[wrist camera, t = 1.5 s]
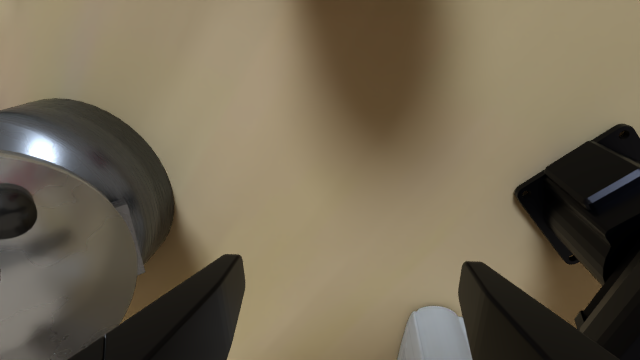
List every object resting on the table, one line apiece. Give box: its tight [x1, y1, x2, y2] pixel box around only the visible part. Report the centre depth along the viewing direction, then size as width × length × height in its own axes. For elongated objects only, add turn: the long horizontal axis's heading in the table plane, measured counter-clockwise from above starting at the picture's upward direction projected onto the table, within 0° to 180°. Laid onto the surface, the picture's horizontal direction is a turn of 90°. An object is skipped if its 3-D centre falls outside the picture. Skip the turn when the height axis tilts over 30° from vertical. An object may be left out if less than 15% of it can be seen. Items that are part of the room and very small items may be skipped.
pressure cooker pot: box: [0, 98, 174, 265], centre depth 22 cm, size 18×12×5 cm, turn 91°
